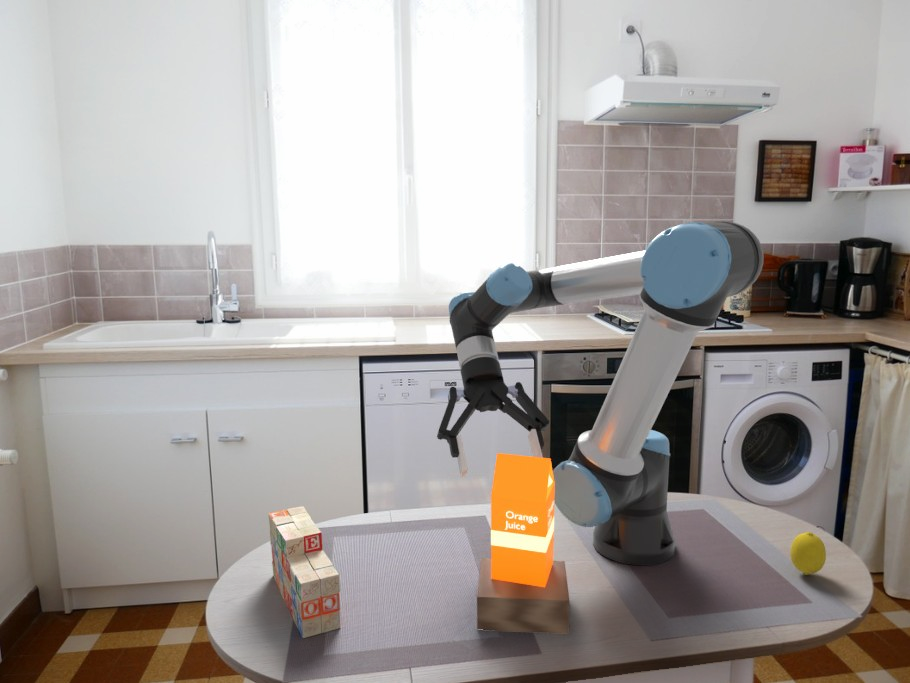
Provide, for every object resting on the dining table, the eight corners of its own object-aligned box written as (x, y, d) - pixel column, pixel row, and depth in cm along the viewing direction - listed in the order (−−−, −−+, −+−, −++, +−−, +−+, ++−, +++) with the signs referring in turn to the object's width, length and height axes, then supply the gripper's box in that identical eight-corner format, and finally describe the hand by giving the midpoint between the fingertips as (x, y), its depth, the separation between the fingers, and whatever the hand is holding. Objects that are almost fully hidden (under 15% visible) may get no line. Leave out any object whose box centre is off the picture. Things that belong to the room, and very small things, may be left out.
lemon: (822, 570, 124) (826, 528, 123) (824, 585, 119) (828, 542, 118) (788, 564, 127) (792, 522, 125) (788, 578, 122) (792, 536, 120)
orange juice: (502, 554, 119) (502, 444, 115) (553, 562, 116) (556, 449, 112) (490, 579, 112) (490, 462, 107) (545, 588, 109) (547, 468, 105)
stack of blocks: (342, 629, 109) (338, 556, 107) (302, 640, 106) (297, 565, 104) (306, 567, 128) (303, 504, 126) (272, 575, 125) (268, 511, 123)
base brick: (564, 593, 119) (564, 561, 117) (568, 636, 107) (569, 600, 106) (481, 590, 120) (481, 558, 119) (477, 632, 108) (476, 596, 107)
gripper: (537, 372, 138) (565, 471, 126) (412, 380, 132) (428, 485, 121) (547, 350, 131) (576, 453, 120) (416, 358, 126) (434, 467, 115)
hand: (502, 469), depth 120 cm, fingers open, 13 cm apart
